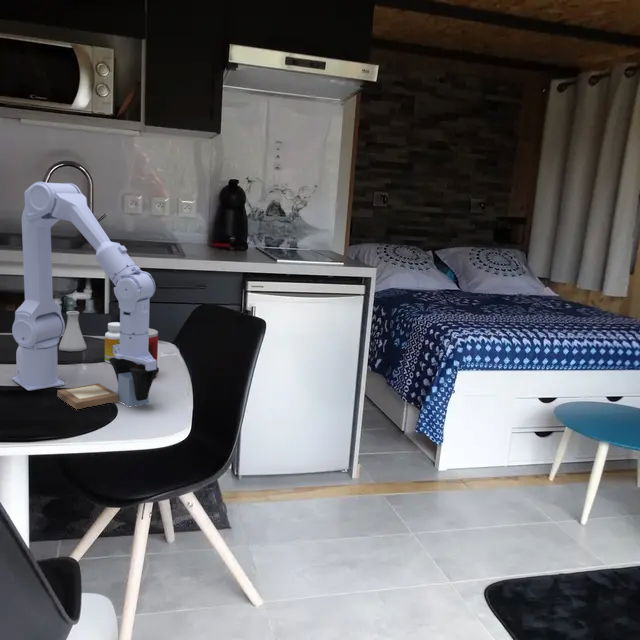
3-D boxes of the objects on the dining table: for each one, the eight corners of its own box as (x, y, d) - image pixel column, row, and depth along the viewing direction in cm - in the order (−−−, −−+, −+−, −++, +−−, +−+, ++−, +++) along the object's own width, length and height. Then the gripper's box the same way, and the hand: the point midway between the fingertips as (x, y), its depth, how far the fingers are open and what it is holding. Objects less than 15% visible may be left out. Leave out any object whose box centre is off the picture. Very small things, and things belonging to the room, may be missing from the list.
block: (117, 401, 133) (118, 374, 131) (137, 397, 136) (138, 370, 135) (128, 407, 130) (128, 379, 128) (148, 403, 133) (148, 376, 131)
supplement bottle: (117, 365, 157) (118, 327, 155) (99, 362, 159) (100, 324, 157) (131, 360, 162) (131, 323, 160) (113, 357, 164) (114, 320, 162)
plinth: (57, 397, 132) (57, 389, 131) (98, 390, 138) (98, 382, 138) (76, 410, 126) (76, 401, 125) (118, 402, 132) (118, 394, 132)
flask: (62, 344, 171) (62, 308, 169) (90, 346, 172) (90, 310, 170) (54, 351, 164) (54, 314, 162) (83, 353, 165) (83, 315, 163)
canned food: (143, 369, 155) (144, 325, 153) (163, 377, 150) (165, 332, 148) (116, 375, 149) (116, 329, 147) (136, 383, 145) (137, 336, 142)
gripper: (99, 326, 132) (99, 388, 135) (134, 341, 122) (133, 408, 125) (130, 323, 137) (129, 383, 139) (166, 337, 127) (164, 402, 130)
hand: (133, 394), depth 132 cm, fingers open, 6 cm apart
